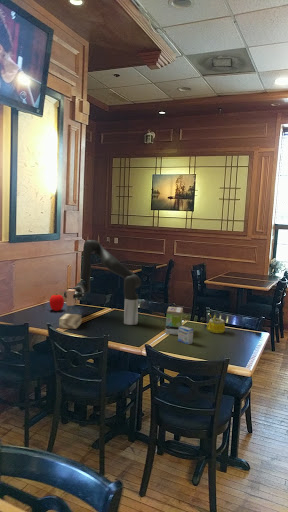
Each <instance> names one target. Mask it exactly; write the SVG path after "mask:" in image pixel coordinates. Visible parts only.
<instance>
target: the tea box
mask: <svg viewBox="0 0 288 512" xmlns="http://www.w3.org/2000/svg"><path fill="white" fill-rule="evenodd" d="M183 314H184V308H183V307H181V306H180V307H178V306H168V308H167V310H166V316H165V317H166V320H165V330H164V331H165V334H166V335H178V332H179V327H181V326H183V317H184V316H183Z"/></svg>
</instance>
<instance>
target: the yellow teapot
mask: <svg viewBox="0 0 288 512" xmlns="http://www.w3.org/2000/svg"><path fill="white" fill-rule="evenodd" d="M209 316H210V319H209V322H208V323H207V325H206V330H207V331H208V332H211V333H213V334H223V333H225V330H226V324H225V320H224V319H222V318H217V316H216V315H214V316H213V318H212V315H211V314H209Z"/></svg>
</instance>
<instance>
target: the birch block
mask: <svg viewBox="0 0 288 512" xmlns="http://www.w3.org/2000/svg"><path fill="white" fill-rule="evenodd" d="M58 319H59V321H58V322H59V323H58V324H59V325H58V327H59V328H60V329H74V330H77V328H79V326H80V325H81V324H82V314H76V313H75V314H74V313H64V314H63V315H62V316H61V317H60V318H58Z"/></svg>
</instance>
